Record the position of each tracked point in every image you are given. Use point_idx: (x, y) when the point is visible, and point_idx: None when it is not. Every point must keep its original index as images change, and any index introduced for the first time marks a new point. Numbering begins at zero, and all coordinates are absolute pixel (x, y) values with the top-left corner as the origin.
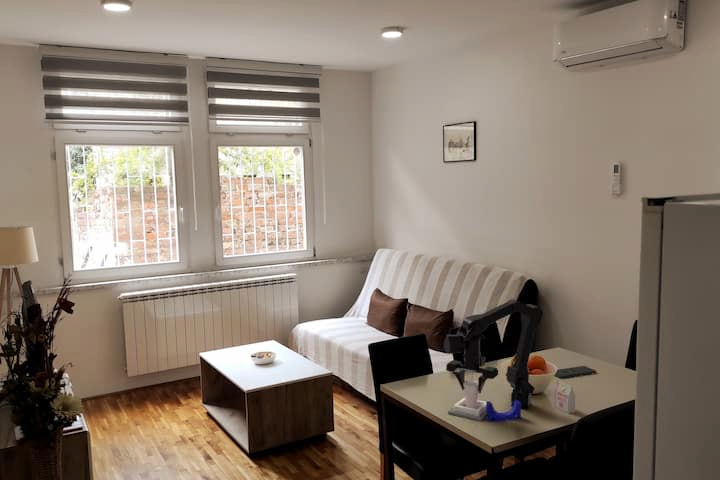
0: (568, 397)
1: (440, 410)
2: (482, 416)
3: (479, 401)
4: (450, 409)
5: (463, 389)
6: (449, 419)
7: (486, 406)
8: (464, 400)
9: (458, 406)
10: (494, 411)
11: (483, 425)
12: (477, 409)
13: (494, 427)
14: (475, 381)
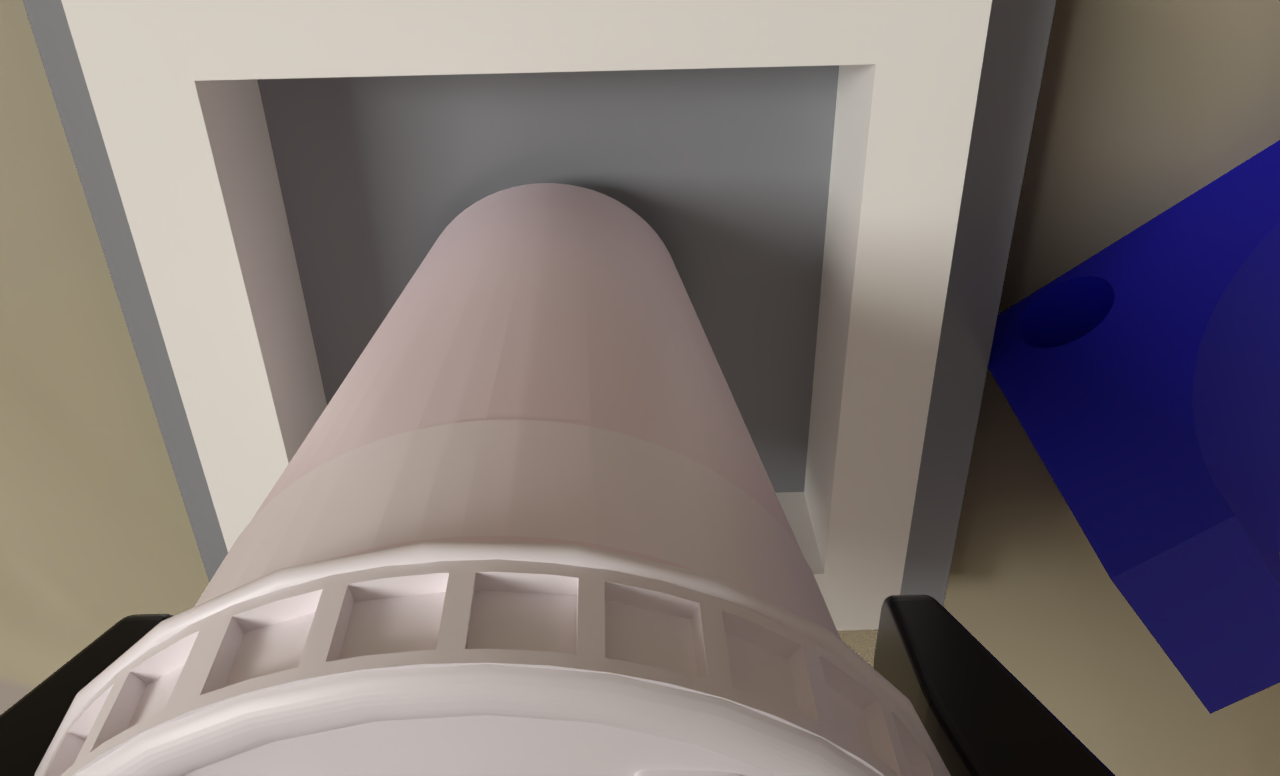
0: None
1: (8, 530)
2: (942, 507)
3: (680, 51)
4: (198, 542)
5: None
6: None
7: (1064, 494)
8: (229, 200)
9: None
10: (1268, 497)
11: (1013, 664)
12: (837, 569)
13: None
14: (550, 753)
